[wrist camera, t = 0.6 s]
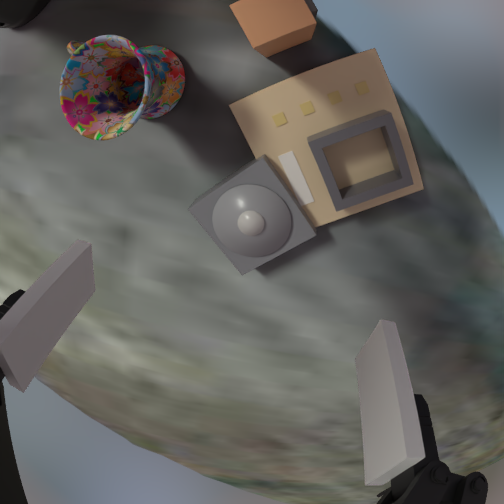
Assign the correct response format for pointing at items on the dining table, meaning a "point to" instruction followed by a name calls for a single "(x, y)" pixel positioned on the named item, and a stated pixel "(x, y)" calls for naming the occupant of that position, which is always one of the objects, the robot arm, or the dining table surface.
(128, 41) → the mug
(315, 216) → the board
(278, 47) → the plug
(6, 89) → the dining table surface
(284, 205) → the grey domed square block
